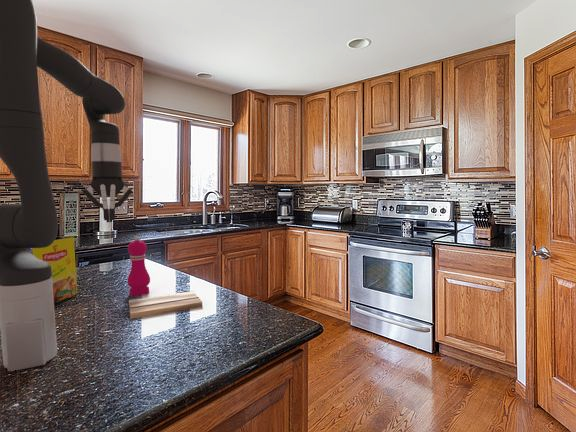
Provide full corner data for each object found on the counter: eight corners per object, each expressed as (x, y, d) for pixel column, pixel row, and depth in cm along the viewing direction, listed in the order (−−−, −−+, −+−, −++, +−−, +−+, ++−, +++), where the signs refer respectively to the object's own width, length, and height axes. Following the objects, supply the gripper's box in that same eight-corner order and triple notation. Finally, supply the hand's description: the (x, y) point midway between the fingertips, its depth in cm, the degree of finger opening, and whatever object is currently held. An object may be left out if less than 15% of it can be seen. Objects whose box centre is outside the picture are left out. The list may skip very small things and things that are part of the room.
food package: (38, 309, 103) (33, 244, 102) (35, 309, 104) (30, 244, 102) (78, 294, 118) (75, 237, 117) (75, 293, 119) (72, 236, 117)
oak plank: (202, 306, 104) (202, 301, 104) (130, 318, 95) (130, 312, 95) (198, 301, 109) (198, 296, 109) (129, 313, 100) (129, 307, 99)
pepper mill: (123, 294, 117) (120, 237, 115) (141, 289, 123) (138, 234, 122) (137, 297, 114) (134, 238, 112) (155, 291, 120) (152, 235, 118)
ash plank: (197, 301, 109) (197, 297, 109) (130, 312, 100) (130, 307, 100) (193, 295, 115) (192, 291, 115) (129, 305, 106) (128, 300, 106)
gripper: (78, 158, 90) (81, 224, 91) (133, 160, 96) (135, 221, 97) (80, 161, 97) (83, 222, 98) (131, 162, 103) (134, 220, 104)
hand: (109, 221), depth 98 cm, fingers closed
